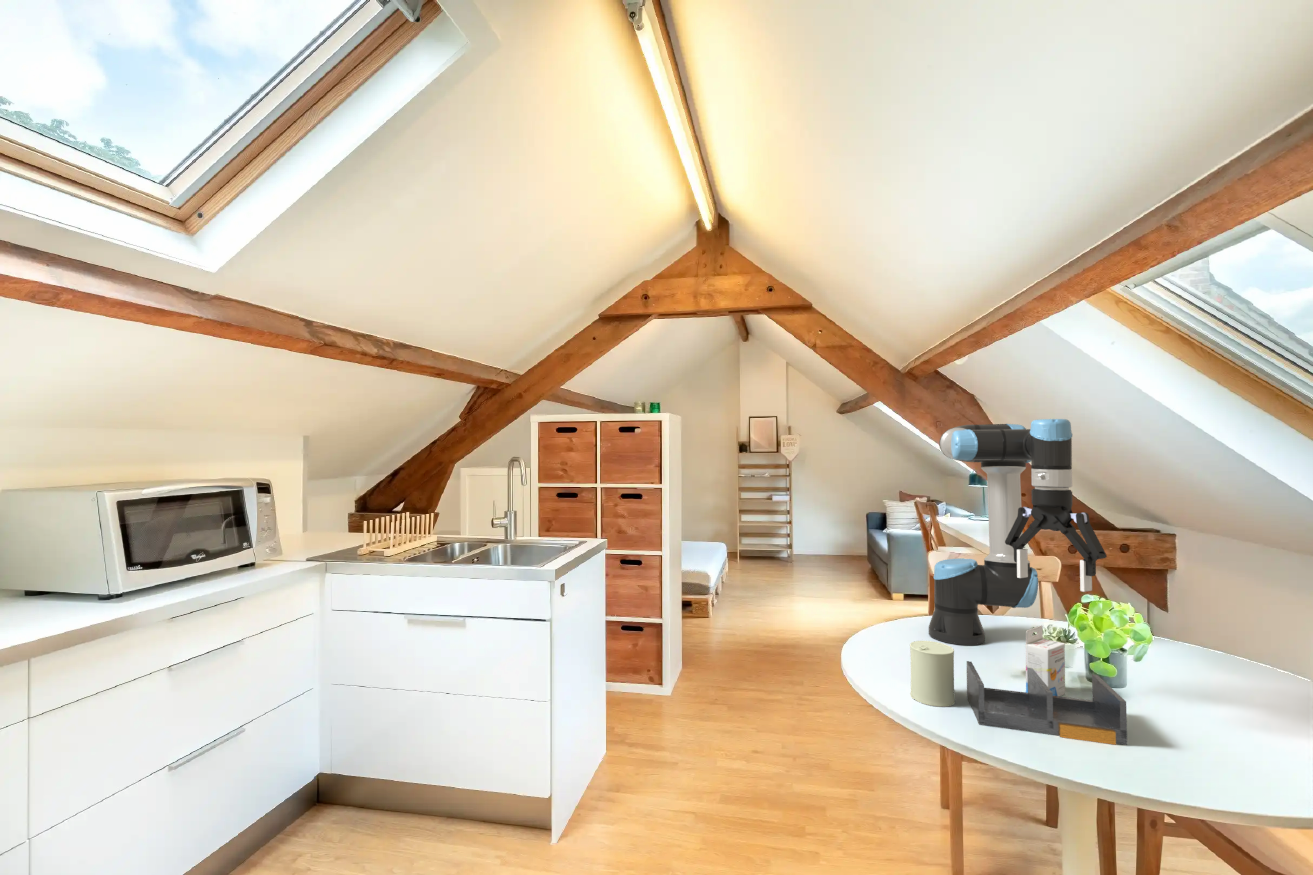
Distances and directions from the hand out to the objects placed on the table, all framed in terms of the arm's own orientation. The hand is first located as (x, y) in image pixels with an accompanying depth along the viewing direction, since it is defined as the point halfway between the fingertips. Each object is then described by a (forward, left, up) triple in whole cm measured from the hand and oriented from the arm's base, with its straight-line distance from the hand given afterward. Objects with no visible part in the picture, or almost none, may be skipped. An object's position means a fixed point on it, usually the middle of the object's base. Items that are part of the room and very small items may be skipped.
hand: (1052, 583), depth 128 cm
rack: (+9, -5, -27) cm, 29 cm away
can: (+5, -25, -27) cm, 37 cm away
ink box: (-6, 0, -27) cm, 28 cm away
